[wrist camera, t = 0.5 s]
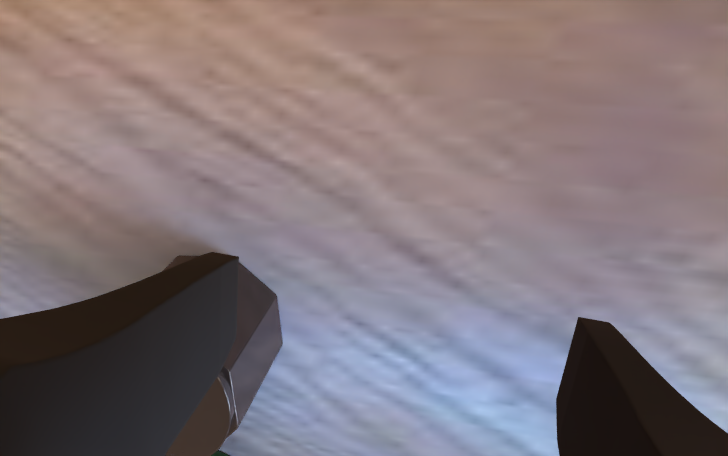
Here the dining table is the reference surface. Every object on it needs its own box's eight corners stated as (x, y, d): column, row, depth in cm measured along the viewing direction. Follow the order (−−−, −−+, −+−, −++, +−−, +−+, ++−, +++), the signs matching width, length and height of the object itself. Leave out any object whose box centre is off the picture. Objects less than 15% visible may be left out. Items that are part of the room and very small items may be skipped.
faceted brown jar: (286, 377, 27) (240, 474, 22) (164, 369, 28) (94, 460, 24) (272, 257, 25) (218, 334, 20) (140, 254, 26) (58, 326, 21)
